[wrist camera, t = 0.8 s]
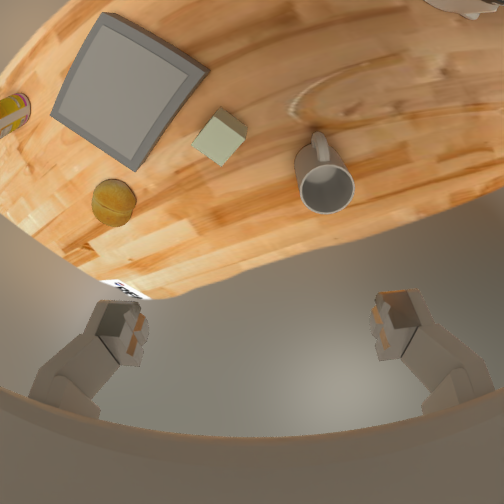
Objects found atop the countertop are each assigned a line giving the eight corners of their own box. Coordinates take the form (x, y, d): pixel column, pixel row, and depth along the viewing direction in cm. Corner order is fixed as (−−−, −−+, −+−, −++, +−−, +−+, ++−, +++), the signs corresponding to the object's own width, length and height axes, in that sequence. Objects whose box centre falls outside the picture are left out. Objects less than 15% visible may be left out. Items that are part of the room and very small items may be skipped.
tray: (115, 13, 27) (101, 11, 24) (210, 70, 34) (204, 72, 31) (63, 108, 37) (48, 116, 33) (144, 162, 43) (134, 173, 40)
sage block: (220, 106, 38) (213, 115, 33) (247, 127, 40) (245, 139, 35) (199, 132, 40) (190, 145, 36) (226, 151, 42) (221, 166, 38)
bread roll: (142, 189, 47) (134, 201, 44) (127, 226, 52) (120, 239, 49) (102, 169, 44) (91, 179, 41) (91, 207, 49) (81, 219, 46)
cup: (296, 186, 46) (302, 216, 39) (288, 126, 40) (294, 146, 33) (340, 182, 45) (354, 211, 38) (337, 122, 39) (354, 141, 32)
